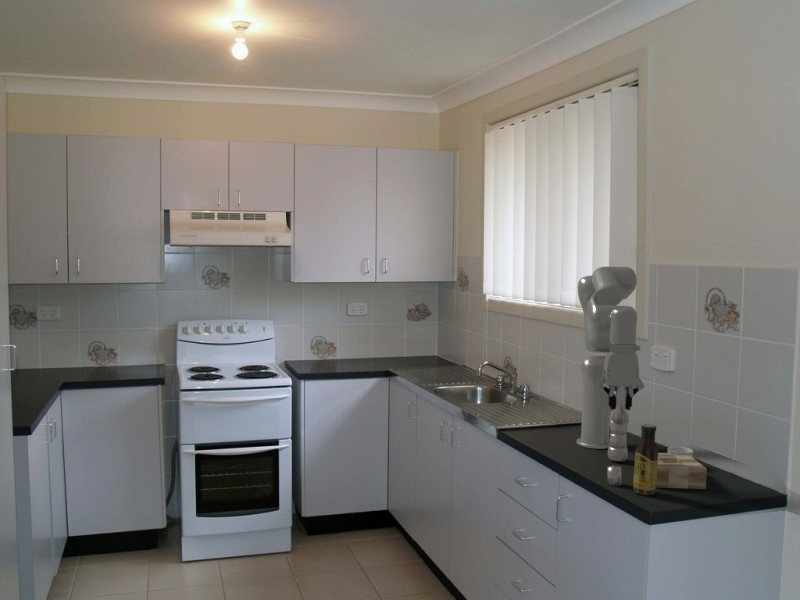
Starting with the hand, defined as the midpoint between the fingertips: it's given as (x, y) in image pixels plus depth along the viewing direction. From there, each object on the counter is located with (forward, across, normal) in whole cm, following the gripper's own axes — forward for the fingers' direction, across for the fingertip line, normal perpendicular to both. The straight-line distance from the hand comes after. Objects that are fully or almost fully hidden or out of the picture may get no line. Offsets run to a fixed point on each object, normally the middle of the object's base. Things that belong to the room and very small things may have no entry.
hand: (619, 408), depth 233 cm
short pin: (+21, +2, +8) cm, 23 cm away
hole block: (+21, -15, +1) cm, 26 cm away
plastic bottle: (+21, -4, -18) cm, 28 cm away
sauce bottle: (+21, -5, +15) cm, 26 cm away
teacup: (+21, -22, -14) cm, 34 cm away
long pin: (+4, 0, 0) cm, 4 cm away
